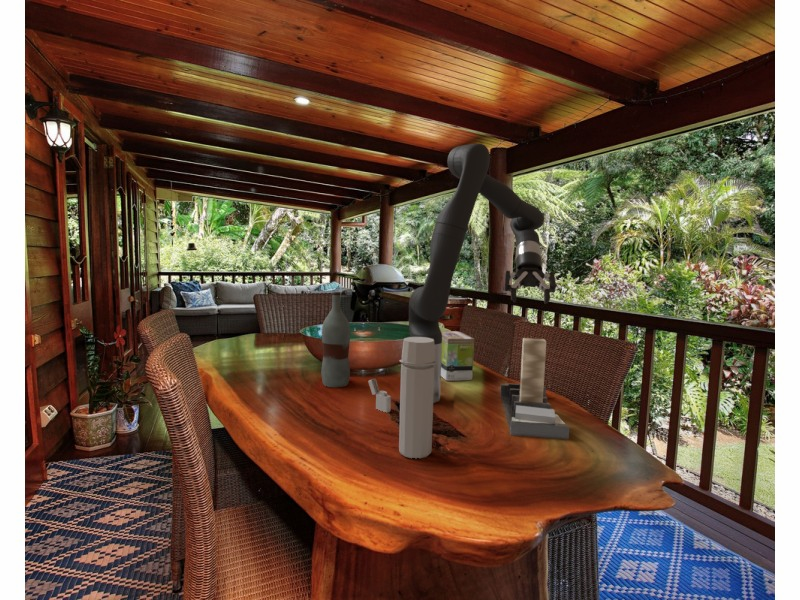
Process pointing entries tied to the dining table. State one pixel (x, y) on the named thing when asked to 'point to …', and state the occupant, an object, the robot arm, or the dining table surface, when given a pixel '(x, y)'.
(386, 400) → the lighter
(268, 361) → the dining table surface
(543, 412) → the offcut stack
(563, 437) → the rack
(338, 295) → the vodka
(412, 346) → the water bottle
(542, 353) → the beige tall block
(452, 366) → the tea box
